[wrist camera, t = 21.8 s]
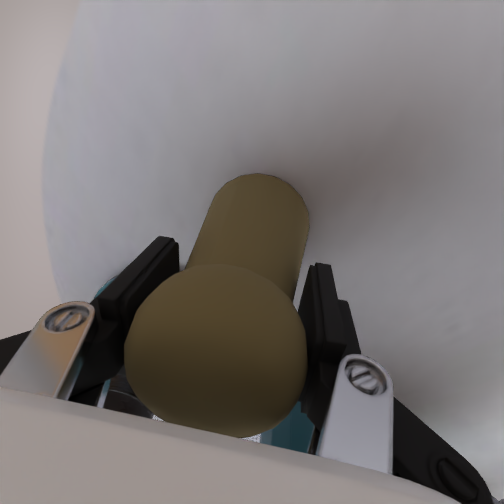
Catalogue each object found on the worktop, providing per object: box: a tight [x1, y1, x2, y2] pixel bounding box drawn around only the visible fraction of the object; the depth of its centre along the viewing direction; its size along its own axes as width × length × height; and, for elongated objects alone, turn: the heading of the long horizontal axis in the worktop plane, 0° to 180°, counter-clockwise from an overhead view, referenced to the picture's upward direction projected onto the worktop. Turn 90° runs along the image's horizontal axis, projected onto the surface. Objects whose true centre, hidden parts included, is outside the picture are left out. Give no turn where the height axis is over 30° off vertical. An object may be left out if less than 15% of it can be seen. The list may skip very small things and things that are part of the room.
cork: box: [124, 174, 309, 438], centre depth 11 cm, size 6×6×11 cm
